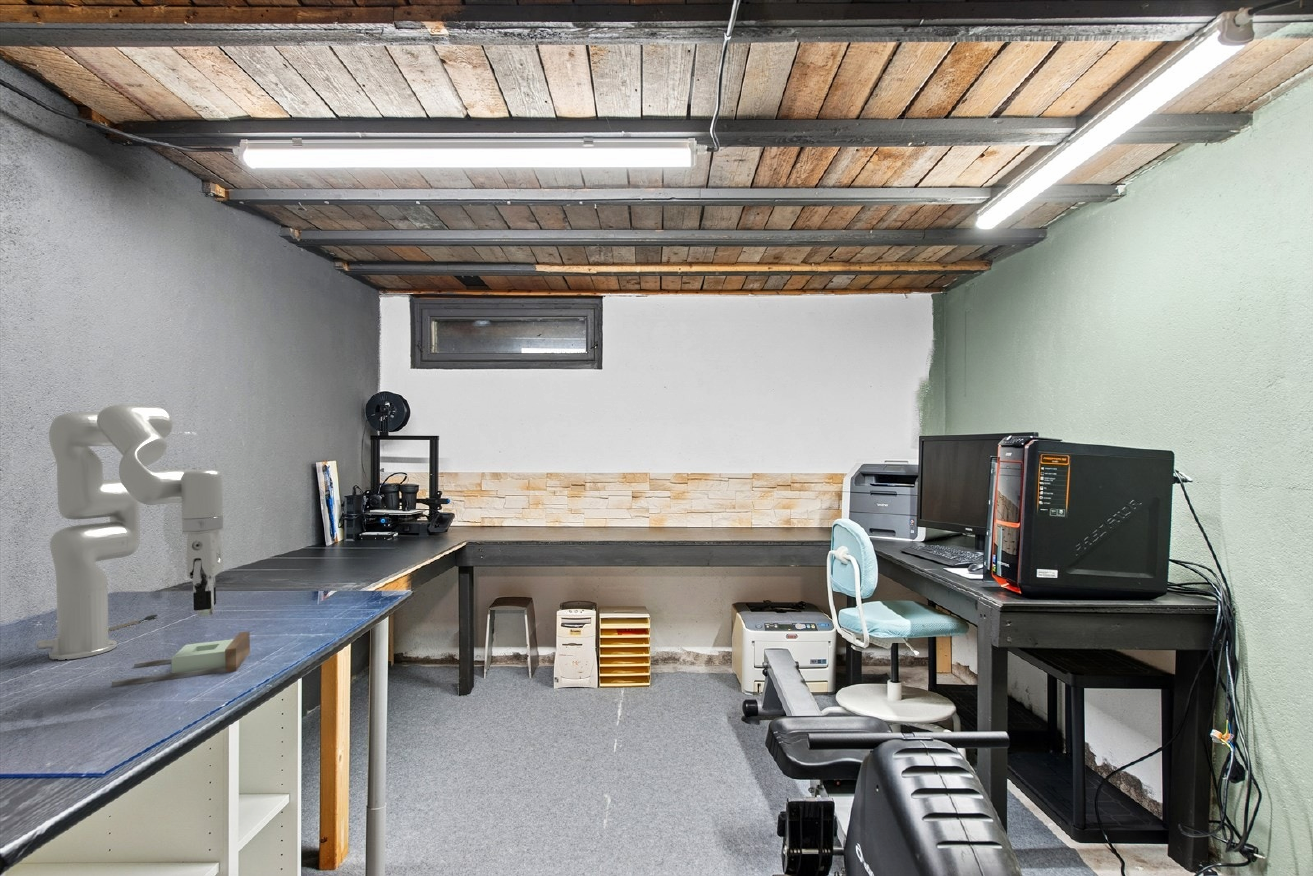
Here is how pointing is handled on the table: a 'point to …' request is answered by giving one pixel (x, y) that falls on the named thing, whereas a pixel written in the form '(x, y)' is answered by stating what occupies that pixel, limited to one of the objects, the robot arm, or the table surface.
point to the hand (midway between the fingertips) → (205, 606)
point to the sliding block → (200, 656)
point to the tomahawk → (132, 623)
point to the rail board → (232, 662)
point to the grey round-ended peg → (211, 588)
